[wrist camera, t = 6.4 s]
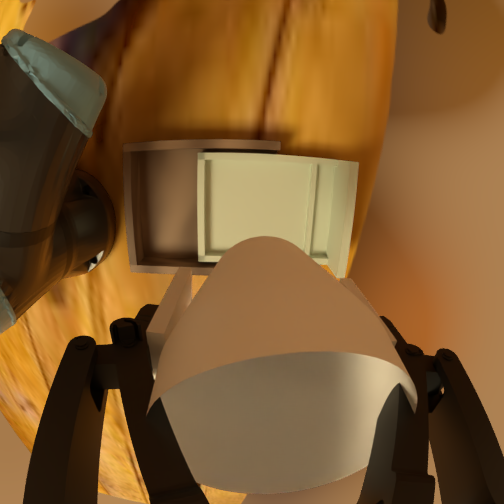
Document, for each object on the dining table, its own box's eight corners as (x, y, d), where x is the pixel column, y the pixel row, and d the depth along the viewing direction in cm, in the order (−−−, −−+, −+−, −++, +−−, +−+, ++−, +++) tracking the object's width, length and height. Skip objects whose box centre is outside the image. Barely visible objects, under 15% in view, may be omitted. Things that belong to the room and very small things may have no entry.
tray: (200, 255, 36) (193, 275, 30) (200, 152, 32) (191, 152, 26) (330, 259, 37) (344, 278, 31) (340, 160, 32) (359, 162, 27)
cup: (313, 343, 20) (356, 486, 9) (191, 331, 19) (155, 483, 8) (345, 227, 17) (469, 340, 6) (200, 206, 16) (116, 318, 5)
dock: (139, 262, 37) (130, 272, 34) (133, 144, 31) (122, 143, 28) (270, 266, 37) (272, 277, 34) (277, 142, 32) (280, 141, 29)
